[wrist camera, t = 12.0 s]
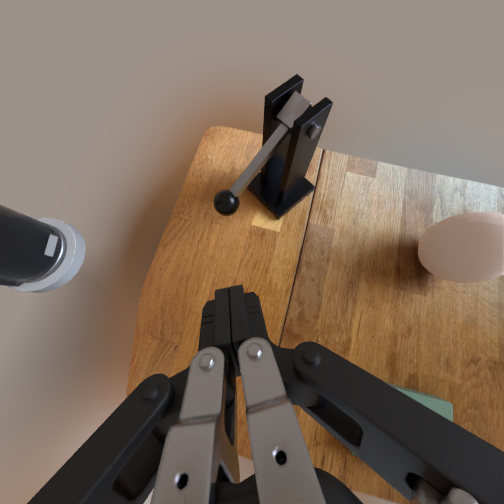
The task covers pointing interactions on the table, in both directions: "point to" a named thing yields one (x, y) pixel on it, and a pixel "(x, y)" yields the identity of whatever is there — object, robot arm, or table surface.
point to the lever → (262, 154)
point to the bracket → (288, 151)
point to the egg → (465, 247)
